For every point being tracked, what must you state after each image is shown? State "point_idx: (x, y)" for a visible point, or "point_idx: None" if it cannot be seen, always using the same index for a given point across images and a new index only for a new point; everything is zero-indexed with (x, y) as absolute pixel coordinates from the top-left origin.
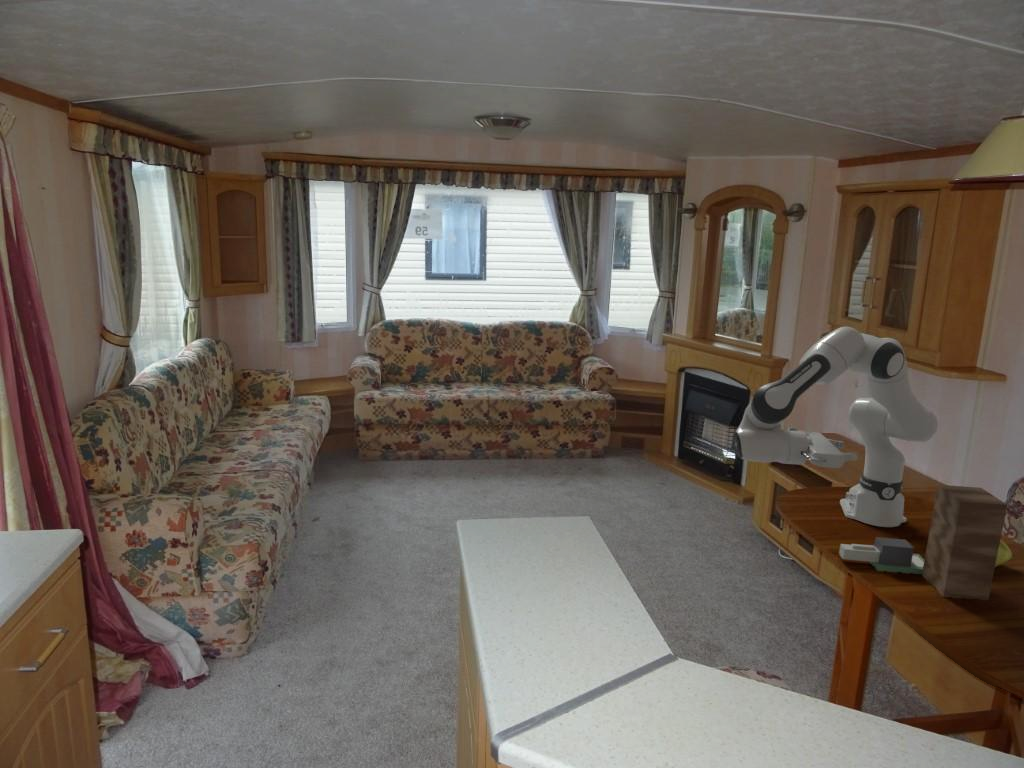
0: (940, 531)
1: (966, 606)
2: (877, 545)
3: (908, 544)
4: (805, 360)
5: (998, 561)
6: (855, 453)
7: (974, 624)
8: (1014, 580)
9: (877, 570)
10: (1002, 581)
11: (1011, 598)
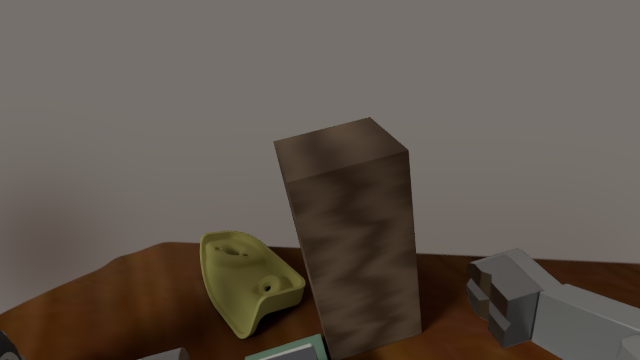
0: (356, 257)
1: (436, 303)
2: None
3: (295, 355)
4: None
5: (266, 248)
6: (506, 256)
7: None
8: (291, 248)
9: None
10: (302, 259)
11: None
